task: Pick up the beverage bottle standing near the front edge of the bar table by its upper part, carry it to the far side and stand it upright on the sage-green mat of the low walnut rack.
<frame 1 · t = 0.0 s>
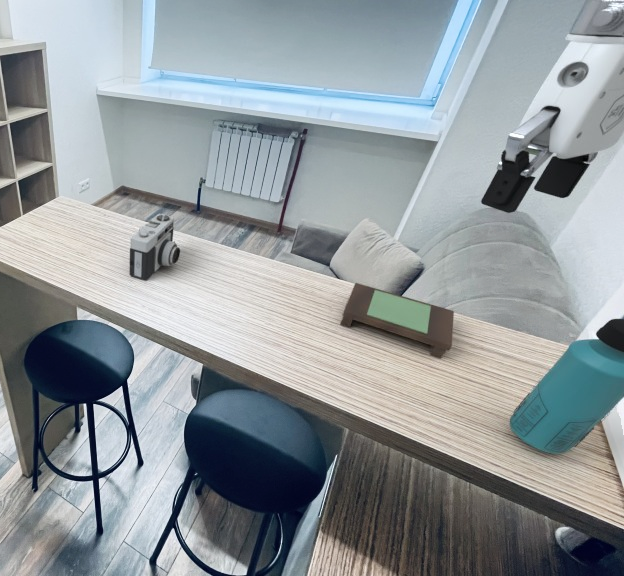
hand: (523, 200, 47), 30 cm above the table, tool pointing down, fingers open, 9 cm apart
beverage bottle: (529, 441, 55), on the table
shelf: (391, 325, 75), on the table
camera: (158, 267, 93), on the table
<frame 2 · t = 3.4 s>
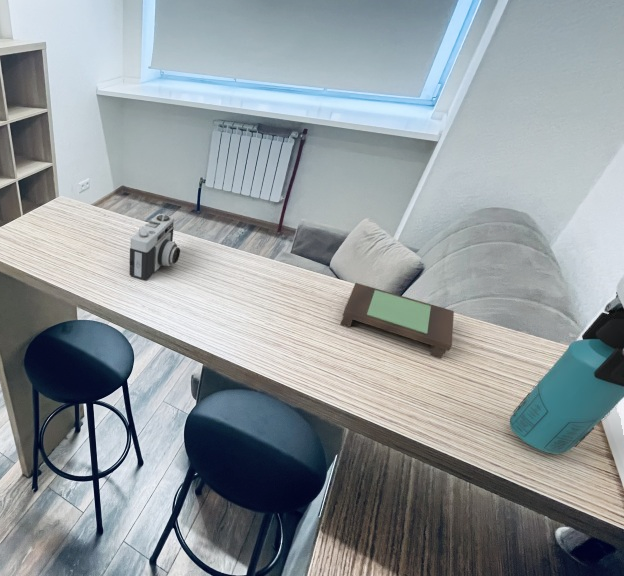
hand: (606, 360, 47), 15 cm above the table, tool pointing down, fingers closed on beverage bottle, 6 cm apart
beverage bottle: (529, 441, 55), on the table, touching gripper
everything else where it was.
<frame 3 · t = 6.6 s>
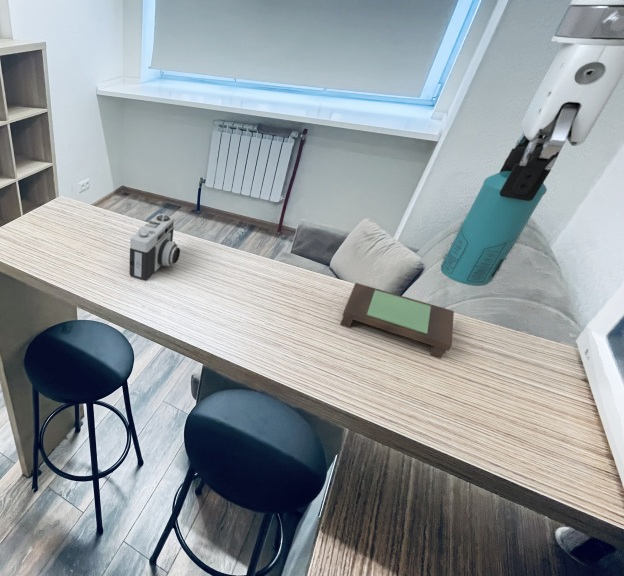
hand: (513, 187, 53), 29 cm above the table, tool pointing down, fingers closed on beverage bottle, 6 cm apart
beverage bottle: (458, 283, 62), point 14 cm above the table, touching gripper
everything else where it was.
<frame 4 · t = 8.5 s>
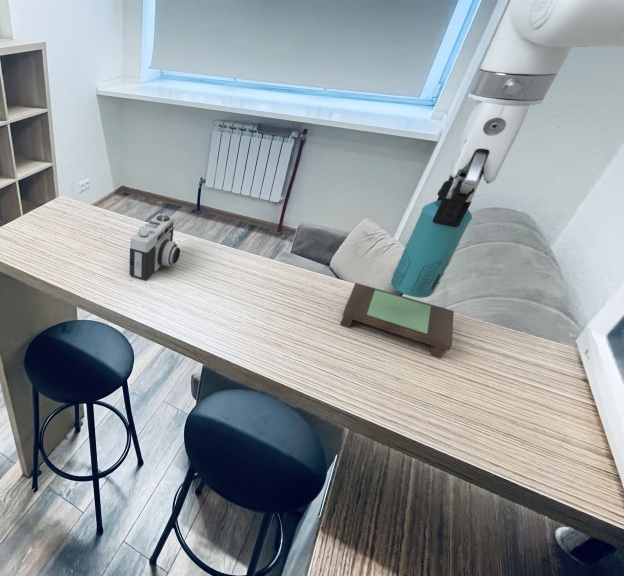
hand: (446, 214, 62), 22 cm above the table, tool pointing down, fingers closed on beverage bottle, 6 cm apart
beverage bottle: (406, 295, 71), point 7 cm above the table, touching gripper
everything else where it was.
when the fingers open (19 cm above the table, at t = 10.0 s): beverage bottle stays where it is, resting on shelf.
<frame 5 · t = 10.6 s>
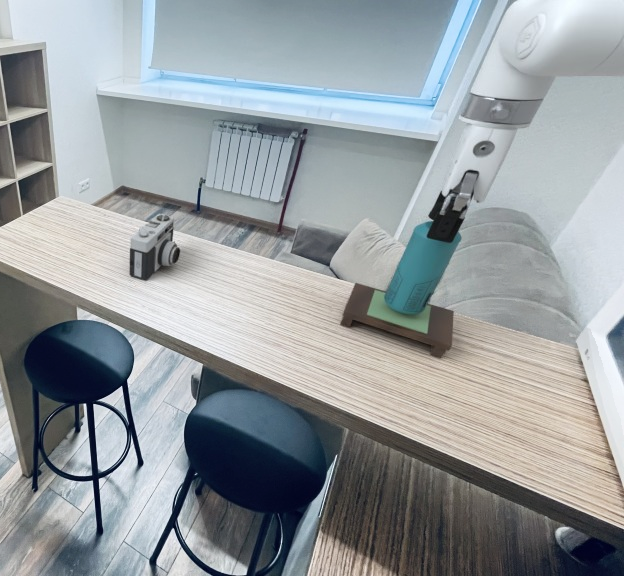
hand: (440, 227, 63), 20 cm above the table, tool pointing down, fingers open, 9 cm apart
beverage bottle: (399, 311, 73), point 4 cm above the table, touching shelf
everything else where it was.
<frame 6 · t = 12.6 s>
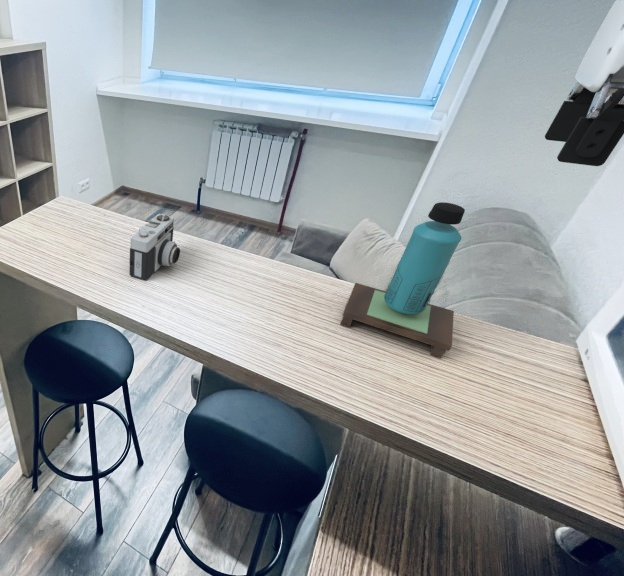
hand: (569, 151, 42), 36 cm above the table, tool pointing down, fingers open, 9 cm apart
nothing on the table moved.
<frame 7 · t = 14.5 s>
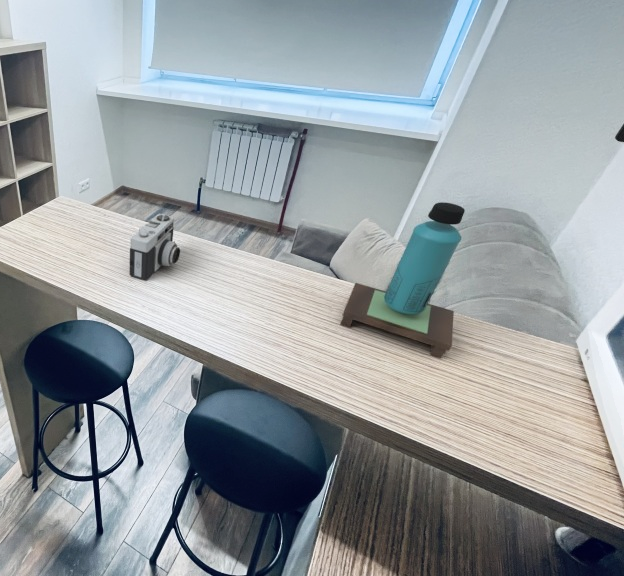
nothing on the table moved.
at the end: beverage bottle 0.1 cm off-centre on the shelf, point 3.5 cm above the shelf's base; beverage bottle tilted 0°; the gripper is holding nothing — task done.
